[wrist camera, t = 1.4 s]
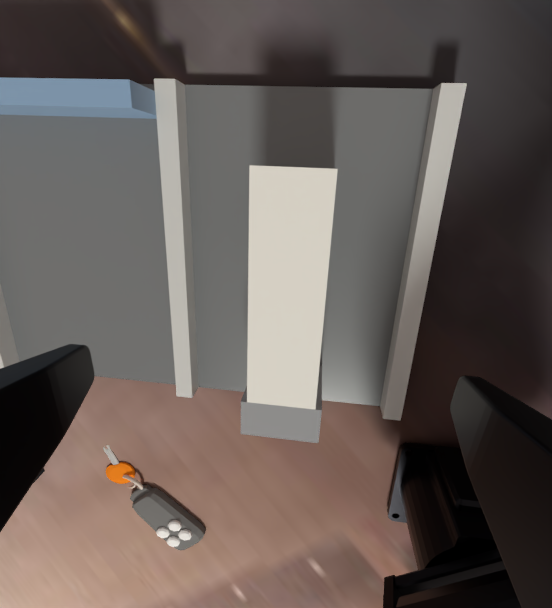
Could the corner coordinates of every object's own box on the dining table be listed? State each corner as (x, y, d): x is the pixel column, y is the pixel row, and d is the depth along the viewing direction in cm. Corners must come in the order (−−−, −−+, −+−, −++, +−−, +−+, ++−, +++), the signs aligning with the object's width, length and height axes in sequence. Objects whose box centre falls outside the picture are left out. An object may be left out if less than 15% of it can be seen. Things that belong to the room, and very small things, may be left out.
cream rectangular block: (319, 392, 22) (318, 443, 18) (255, 386, 23) (240, 433, 19) (340, 168, 18) (345, 169, 14) (260, 166, 18) (241, 165, 14)
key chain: (213, 523, 29) (207, 540, 28) (182, 540, 30) (175, 558, 29) (93, 414, 27) (81, 427, 25) (64, 437, 28) (51, 451, 26)
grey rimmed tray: (395, 402, 22) (409, 449, 19) (13, 363, 25) (-41, 396, 21) (453, 91, 16) (490, 69, 13) (-58, 82, 19) (-150, 61, 15)
